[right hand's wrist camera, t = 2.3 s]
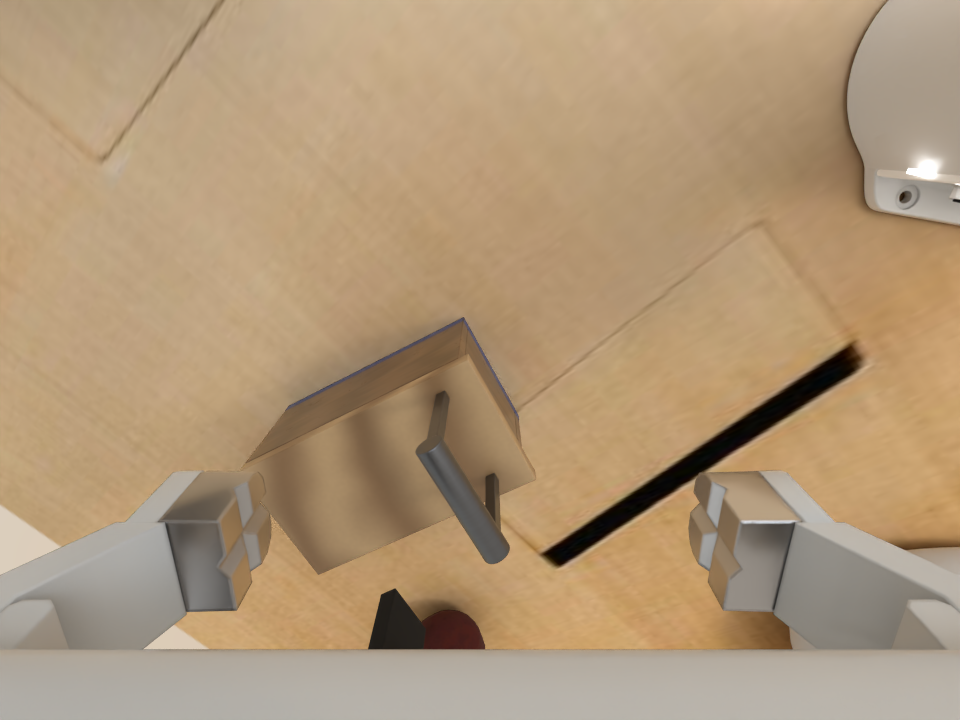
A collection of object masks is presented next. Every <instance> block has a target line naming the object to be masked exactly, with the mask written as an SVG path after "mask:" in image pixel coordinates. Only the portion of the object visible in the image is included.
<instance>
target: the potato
mask: <svg viewBox="0 0 960 720" xmlns="http://www.w3.org/2000/svg"><path fill="white" fill-rule="evenodd" d="M421 623H422V624H423V626H424V627H425V628H426V633H425V640H424V648H423V649H485V644H484V641H483V638H482V635H481V633H480V630H479V628H478V626H477V625H476V623H475V622H474V621H473V620H472V619H471V618H470V617H469V616H468V615H467V614H464V613H462V612H460V611H455V610H445V611H440V612H437V613H435V614H433V615H431V616H429V617H428V618H426V619H425V620H423V621H422V622H421Z"/></svg>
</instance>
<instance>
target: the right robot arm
mask: <svg viewBox="0 0 960 720" xmlns="http://www.w3.org/2000/svg"><path fill="white" fill-rule="evenodd" d="M847 113H848V121H849V126H850V130H851V133H852V136H853V139H854V141H855V144H856V146H857V148H858V150H859V152H860V155H861V157H862V160H863V163H864V167H865V171H864V194H865V200H866V203H867V205H868V206H869V207H870V208H871V209H872V210H875V211H879V212H884V213H890V214H896V215H901V216H907V217H913V218H919V219H924V220H930V221H936V222H941V223H947V224H953V225H958V226H960V0H888V1H887V2H886V3H885V5H884V6H883V7H882V8H881V10H880V11H879V13H878V14H877V15H876V17H875V18H874V20H873V21H872V23H871V24H870V26H869V28H868V30H867V31H866V33H865V35H864V37H863V39H862V41H861V43H860V46H859V48H858V50H857V53H856V56H855V58H854V62H853V65H852V69H851V73H850V77H849V83H848V91H847ZM902 192H904V193H905V196H904V198H903V200H902V201H900V200H899V197H900V194H901V193H902ZM265 494H266V488H265V483H264V478H263V476H262V475H261V474H260V473H259V472H240V471H203V470H200V471H177V472H173V473H172V474H171V475H170V476H169V477H168V478H167V479H166V480H165V481H164V482H163V483H162V484H161V486H160V487H159V488H158V489H157V490H156V491H155V492H154V493H153V494H152V495H151V496H150V497H149V498H148V499H147V500H146V501H145V502H144V503H143V504H142V505H141V506H140V507H139V508H138V509H137V510H136V511H135V512H134V513H133V514H132V515H131V516H130V517H129V519H128V520H127V521H126V522H116V523H113V524H111V525H109V526H107V527H105V528H102V529H100V530H98V531H96V532H94V533H91V534H89V535H87V536H85V537H83V538H80V539H78V540H76V541H74V542H72V543H70V544H67V545H65V546H63V547H61V548H59V549H56V550H54V551H52V552H50V553H48V554H45V555H43V556H41V557H39V558H37V559H35V560H32V561H30V562H28V563H26V564H24V565H21V566H19V567H17V568H15V569H13V570H11V571H8V572H6V573H4V574H2V575H0V720H960V575H958V574H956V573H954V572H951V571H949V570H947V569H945V568H943V567H941V566H938V565H936V564H934V563H932V562H930V561H927V560H925V559H923V558H921V557H919V556H917V555H914V554H912V553H910V552H908V551H906V550H903V549H901V548H899V547H897V546H895V545H893V544H890V543H888V542H886V541H884V540H882V539H879V538H877V537H875V536H873V535H871V534H868V533H866V532H864V531H862V530H860V529H858V528H855V527H853V526H851V525H849V524H847V523H844V522H834V521H833V519H832V518H831V517H830V516H829V515H828V514H827V513H826V512H825V511H824V510H823V509H822V508H821V507H820V506H819V505H818V504H817V503H816V502H815V501H814V500H813V499H812V498H811V497H810V496H809V495H808V494H807V493H806V492H805V491H804V490H803V489H802V487H801V486H800V485H799V484H798V483H797V482H796V481H795V480H794V479H793V478H792V477H791V476H790V475H789V474H788V473H786V472H784V471H781V470H774V471H748V472H708V473H699V474H698V477H697V479H696V482H695V487H694V494H695V495H696V497H697V499H698V500H699V502H700V503H699V504H698V505H697V506H696V507H695V508H694V509H693V510H692V511H691V512H690V520H689V539H690V545H691V548H692V552H693V554H694V556H695V558H696V560H697V562H698V564H699V565H701V566H702V567H704V568H705V569H707V570H708V571H710V572H709V578H708V583H709V585H710V587H711V589H712V591H713V592H714V594H715V596H716V598H717V600H718V602H719V604H720V605H721V607H722V609H723V611H759V612H774V613H773V614H774V615H775V616H776V617H777V618H779V619H780V620H781V621H782V622H784V623H785V624H786V625H787V626H789V627H790V628H791V629H793V630H794V631H795V632H796V633H798V634H799V635H800V636H801V637H803V638H804V639H805V640H806V641H808V642H809V643H810V644H811V645H813V646H814V647H815V648H816V649H566V650H541V649H144V648H145V647H146V646H148V645H149V644H150V643H151V642H153V641H154V640H155V639H156V638H158V637H159V636H160V635H161V634H163V633H164V632H165V631H166V630H168V629H169V628H170V627H171V626H173V625H174V624H175V623H176V622H178V621H179V620H180V619H182V618H183V617H184V616H185V615H186V614H187V613H186V612H201V611H236V610H237V609H238V607H239V606H240V604H241V602H242V600H243V598H244V596H245V594H246V592H247V591H248V589H249V587H250V585H251V583H252V578H251V572H250V571H252V570H253V569H255V568H256V567H258V566H259V565H261V564H262V562H263V560H264V558H265V556H266V554H267V552H268V548H269V544H270V539H271V519H270V512H269V511H268V510H267V509H266V508H265V507H264V506H263V505H262V504H261V503H260V502H261V500H262V499H263V497H264V495H265Z"/></svg>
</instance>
